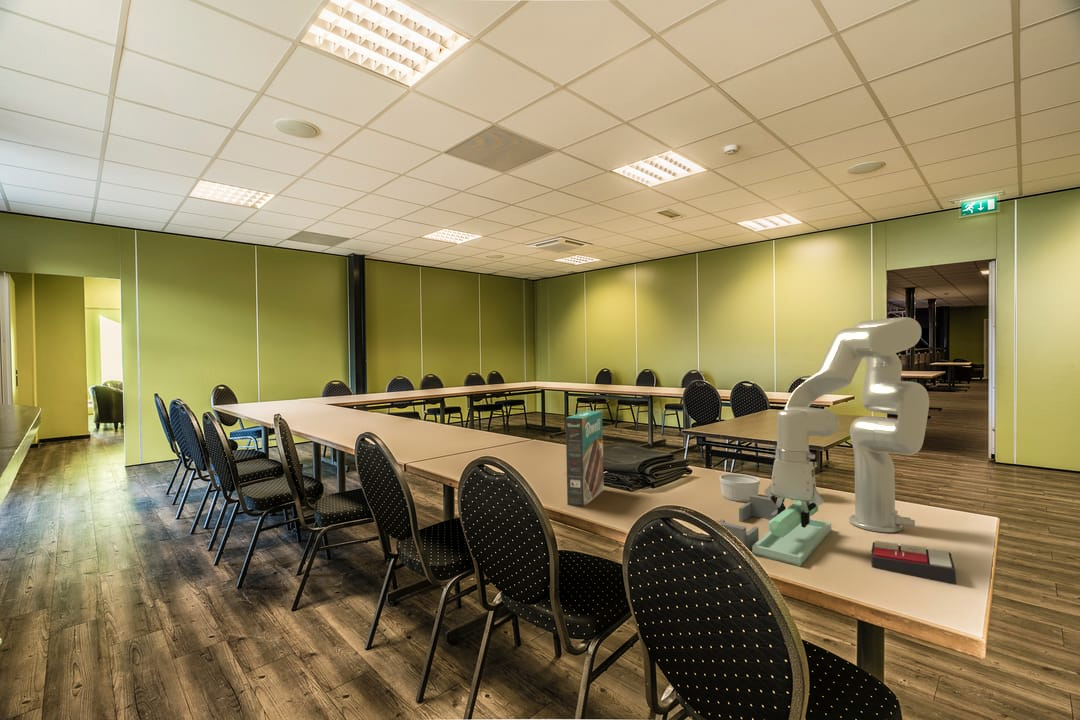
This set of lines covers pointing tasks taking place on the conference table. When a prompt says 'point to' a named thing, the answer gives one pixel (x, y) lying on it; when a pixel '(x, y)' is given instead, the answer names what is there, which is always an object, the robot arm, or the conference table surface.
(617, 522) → the conference table surface
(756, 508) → the bay
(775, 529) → the green hexagonal bar
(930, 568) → the black switch panel
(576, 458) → the cake mix box
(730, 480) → the ramekin
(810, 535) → the tray
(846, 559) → the conference table surface
